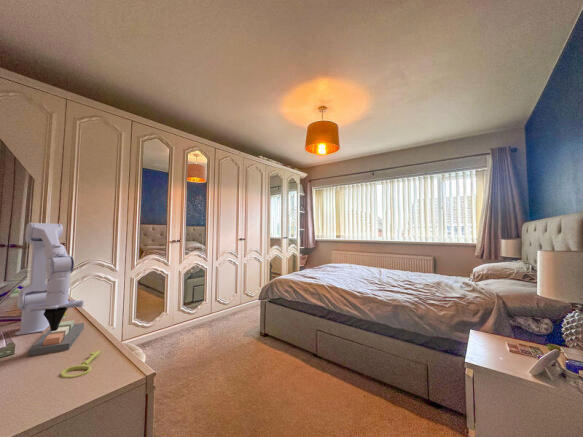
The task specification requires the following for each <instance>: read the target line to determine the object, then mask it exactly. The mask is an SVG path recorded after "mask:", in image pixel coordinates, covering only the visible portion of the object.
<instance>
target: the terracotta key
mask: <svg viewBox="0 0 583 437" xmlns="http://www.w3.org/2000/svg"><path fill="white" fill-rule="evenodd" d="M62 340H63V333H59V334H52V335H48V336H47V337H46V338H45V339H44V342H43V346H46V345H53V344H59V343H61V341H62Z"/></svg>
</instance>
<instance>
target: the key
mask: <svg viewBox="0 0 583 437" xmlns="http://www.w3.org/2000/svg"><path fill="white" fill-rule="evenodd" d="M100 354H101V350H100V349H99V350H97V351H91V352H90V353H89V356H90V357H89V358H88V359H87V360H85V361H83V362H81V363H80V364H79V365H73V366H69V367H66V368H65V369H63V370H62V371H61V373H60V377H61V378H62V379H71V378H70V377H75V378H79V377H78V376H80V377H82V375H83V376H86V375H88V374H90V373H91V372H92V366H91V365H89V364H90V363H91V362H92V361H93V360H94V359H95V358H97V356H99V355H100ZM86 369H87V370H86ZM71 370H72V371H77V370H86V371H83V372H81V373H76V374H66V373H68V372H72V371H71ZM90 371H91V372H90ZM87 373H88V374H87ZM85 374H86V375H85ZM68 377H69V378H68Z"/></svg>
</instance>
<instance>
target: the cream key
mask: <svg viewBox="0 0 583 437" xmlns="http://www.w3.org/2000/svg"><path fill="white" fill-rule="evenodd" d="M59 333H63V336H66V335H67V334H68V333H69V326H67V327H60V328H58V329H57V330H56V331H52V332H51V335H52V334H59Z"/></svg>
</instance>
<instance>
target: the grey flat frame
mask: <svg viewBox="0 0 583 437" xmlns="http://www.w3.org/2000/svg"><path fill="white" fill-rule="evenodd" d="M84 329H85V322H81V323H74V327H73V328H72V329H70V330H69V333H68V334H67V335H66V336H63V340H62V341H61V343H59V344H53V345H46V346H43V342H44V339H45V338H46V337H47V336H48V335H51V332H52V331H51V329H50V328H49V329H48V330H47V331H46V332H45V333H44V334H43V335H42V336H41V337H40V338H39V339H38V340H37V341H36V342H35V343H34V344H33V345H31V347H29V349H28V352H27V353H28V354H27V357H34V356H39V355H45V354H51V353H57V352H65V351H70V349H71V347H72V346H73V344H74V343H75V342H76V340H77V339H78V338H79V336H80V334H81V333H82V332H83V330H84Z"/></svg>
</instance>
